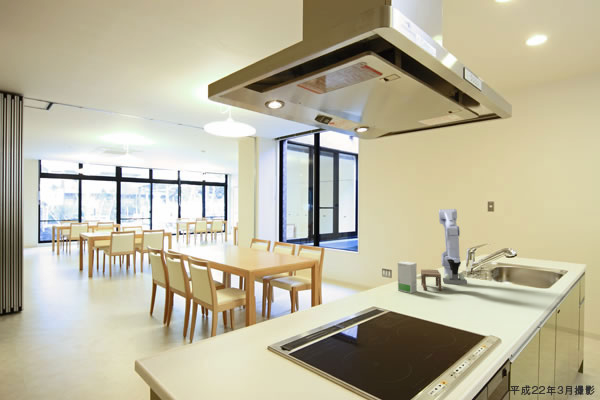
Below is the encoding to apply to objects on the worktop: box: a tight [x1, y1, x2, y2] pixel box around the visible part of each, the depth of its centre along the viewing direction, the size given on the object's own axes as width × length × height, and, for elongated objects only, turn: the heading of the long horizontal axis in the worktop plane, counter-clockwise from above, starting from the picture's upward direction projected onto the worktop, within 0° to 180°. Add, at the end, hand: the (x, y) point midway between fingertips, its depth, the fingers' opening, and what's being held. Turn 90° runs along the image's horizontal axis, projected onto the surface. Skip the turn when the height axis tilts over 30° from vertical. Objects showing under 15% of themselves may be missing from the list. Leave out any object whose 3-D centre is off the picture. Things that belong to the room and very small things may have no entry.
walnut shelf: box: [420, 269, 442, 292], centre depth 179 cm, size 12×9×9 cm
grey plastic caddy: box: [442, 270, 468, 285], centre depth 172 cm, size 5×11×6 cm, turn 75°
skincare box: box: [397, 260, 418, 294], centre depth 175 cm, size 8×7×16 cm
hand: (454, 273), depth 172 cm, fingers closed on grey plastic caddy, 4 cm apart
